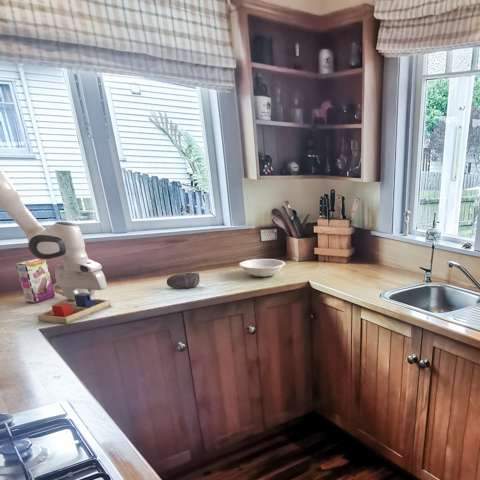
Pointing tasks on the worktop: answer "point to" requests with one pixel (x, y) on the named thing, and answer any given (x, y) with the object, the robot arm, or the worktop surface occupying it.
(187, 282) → the perforated stone tool
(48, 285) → the candy bar box
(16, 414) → the worktop surface
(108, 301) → the tray
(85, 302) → the navy block
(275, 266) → the soup bowl
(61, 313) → the red block
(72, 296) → the teacup
